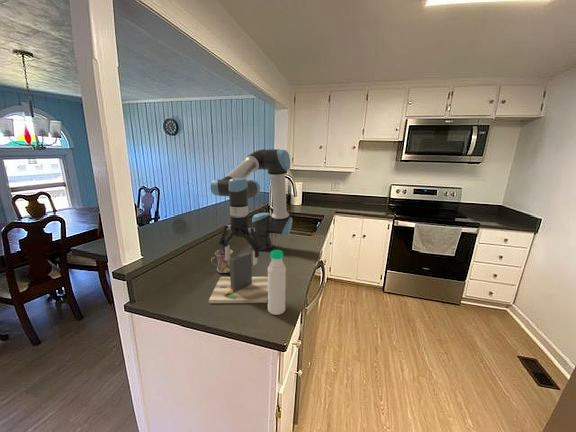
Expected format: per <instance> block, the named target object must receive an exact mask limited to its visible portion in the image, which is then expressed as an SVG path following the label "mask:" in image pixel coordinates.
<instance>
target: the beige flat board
mask: <svg viewBox="0 0 576 432" xmlns="http://www.w3.org/2000/svg"><path fill="white" fill-rule="evenodd" d="M229 290H231V280H230V276H219V279H218V281H217V283H216V285H215V286H214V289H213V290H212V293H211V295H210V297H209V298H208V304H268V276H252V284H250V285H248V286H246V287H244V288H242V289H240V290H238V291H236V292H233V291H232V292H230V293H228V294H226V295H225V294H224V293H225V292H227V291H229Z"/></svg>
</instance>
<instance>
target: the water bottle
mask: <svg viewBox="0 0 576 432" xmlns="http://www.w3.org/2000/svg"><path fill="white" fill-rule="evenodd" d="M283 258H284V252H283V251H282V250H281V249H273V250H271V251H270V259H271V260H270V262H269V265H268V266H267V277H268V298H267V311H268V312H269V314H272V315H275V316H278V315H282V314H283V313H284V312H285V311H286V290H287V289H286V286H287V282H286V281H287V277H286V272H287V269H286V268H287V267H286V265H285V263H284V261H283Z"/></svg>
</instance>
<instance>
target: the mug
mask: <svg viewBox="0 0 576 432" xmlns="http://www.w3.org/2000/svg"><path fill="white" fill-rule="evenodd" d="M233 253H234V251H233V250H232V249H231V248H230V258H232V257H233ZM214 255H215V256H213V257H211V259H210V262H211V264H212V265H213V266H216V272H217V273H220V274H227V273H230V259H229V260H227V261H226V259H225V253H224V249H223V248H221V249H218V250H216V251H215V252H214ZM213 259H216V260H217V264H215V263H214V262H213Z"/></svg>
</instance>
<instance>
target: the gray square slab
mask: <svg viewBox="0 0 576 432" xmlns="http://www.w3.org/2000/svg"><path fill="white" fill-rule="evenodd" d="M252 265H253V263H252V252H248V251H246V252H244V253H241V254H239V255H235V256H232V257H231V258H230V272H229V274H230V275H229V277H230V280H231V290H229V291H227V292H225V293H224V294H225V295H226V294H228V293H230V292H232V291H233V292H236V291H238V290H240V289H242V288H244V287H246V286H248V285H250V284H252V277H253V273H252V271H253V269H252Z"/></svg>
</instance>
